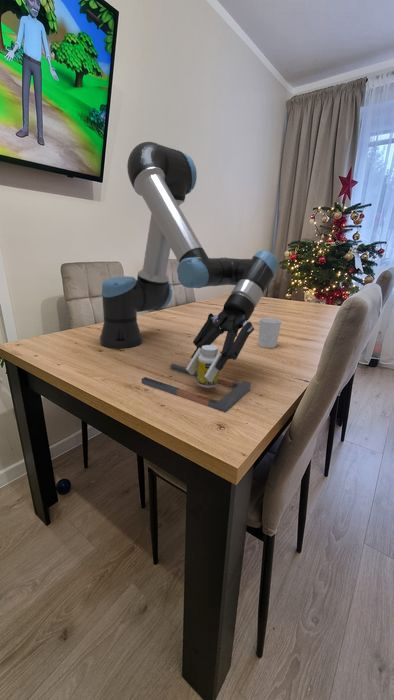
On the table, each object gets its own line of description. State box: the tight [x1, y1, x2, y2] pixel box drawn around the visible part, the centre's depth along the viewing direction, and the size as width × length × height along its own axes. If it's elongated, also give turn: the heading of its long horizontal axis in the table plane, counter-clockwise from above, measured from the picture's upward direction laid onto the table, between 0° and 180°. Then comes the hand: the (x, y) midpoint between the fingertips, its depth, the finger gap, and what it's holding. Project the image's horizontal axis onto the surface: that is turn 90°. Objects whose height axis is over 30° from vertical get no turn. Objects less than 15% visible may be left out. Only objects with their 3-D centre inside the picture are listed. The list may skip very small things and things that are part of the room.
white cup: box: [258, 317, 282, 349], centre depth 115 cm, size 8×8×10 cm
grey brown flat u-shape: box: [141, 363, 252, 412], centre depth 80 cm, size 25×14×2 cm, turn 57°
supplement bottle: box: [196, 344, 220, 389], centre depth 76 cm, size 5×5×10 cm
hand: (198, 375), depth 74 cm, fingers closed on supplement bottle, 5 cm apart
